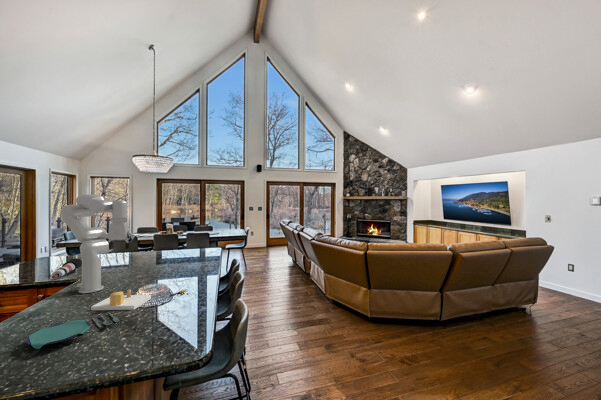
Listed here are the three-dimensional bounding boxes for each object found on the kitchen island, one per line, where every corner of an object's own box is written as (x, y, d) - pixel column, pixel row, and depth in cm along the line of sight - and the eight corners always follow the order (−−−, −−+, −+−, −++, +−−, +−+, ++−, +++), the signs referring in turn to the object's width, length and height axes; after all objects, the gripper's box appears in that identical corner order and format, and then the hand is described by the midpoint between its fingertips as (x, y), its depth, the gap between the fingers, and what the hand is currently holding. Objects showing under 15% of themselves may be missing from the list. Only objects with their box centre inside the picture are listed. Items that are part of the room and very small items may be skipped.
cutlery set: (23, 338, 106) (23, 332, 106) (110, 313, 129) (110, 309, 129) (27, 355, 93) (27, 349, 94) (123, 325, 117) (123, 320, 117)
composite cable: (170, 297, 151) (170, 293, 151) (168, 295, 155) (168, 291, 155) (187, 293, 158) (187, 289, 158) (185, 291, 161) (185, 287, 161)
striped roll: (55, 267, 183) (65, 277, 186) (77, 256, 215) (85, 265, 217) (41, 276, 180) (51, 286, 183) (64, 263, 212) (73, 272, 214)
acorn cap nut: (107, 306, 133) (107, 295, 133) (115, 301, 138) (115, 291, 139) (118, 305, 133) (118, 295, 133) (125, 301, 139) (125, 291, 139)
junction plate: (91, 310, 132) (91, 298, 132) (112, 298, 148) (112, 288, 148) (134, 309, 133) (134, 298, 133) (151, 298, 149) (151, 287, 149)
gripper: (100, 221, 149) (100, 250, 149) (130, 221, 150) (130, 250, 149) (109, 220, 156) (109, 248, 156) (138, 220, 157) (137, 248, 157)
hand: (119, 249), depth 153 cm, fingers open, 9 cm apart
